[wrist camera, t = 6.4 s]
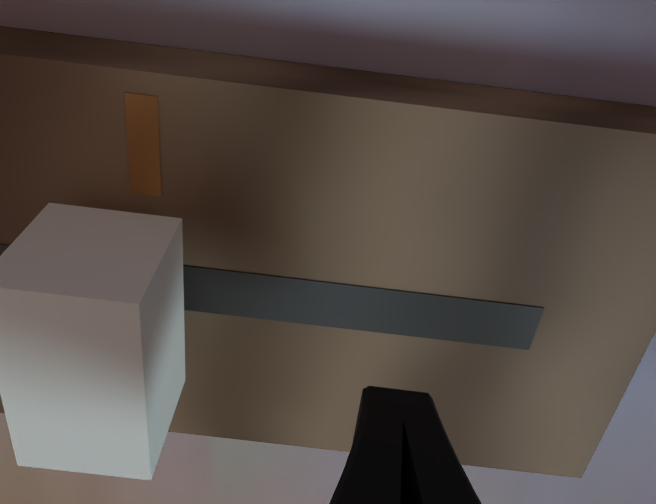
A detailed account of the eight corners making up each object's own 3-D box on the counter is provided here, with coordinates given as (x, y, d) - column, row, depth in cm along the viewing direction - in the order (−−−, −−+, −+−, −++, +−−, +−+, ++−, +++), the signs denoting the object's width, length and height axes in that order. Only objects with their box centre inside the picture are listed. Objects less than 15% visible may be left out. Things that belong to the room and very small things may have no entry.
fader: (186, 209, 14) (139, 304, 11) (188, 369, 17) (151, 480, 14) (56, 194, 14) (-27, 285, 11) (79, 357, 17) (17, 465, 14)
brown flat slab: (705, 113, 15) (750, 146, 13) (563, 427, 21) (581, 479, 19) (-132, 10, 15) (-198, 30, 13) (-36, 359, 21) (-73, 405, 19)
